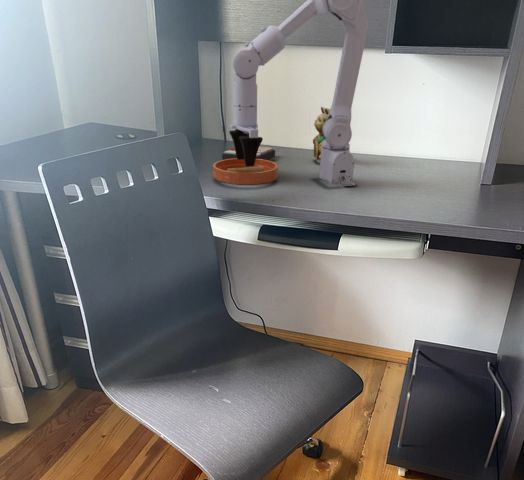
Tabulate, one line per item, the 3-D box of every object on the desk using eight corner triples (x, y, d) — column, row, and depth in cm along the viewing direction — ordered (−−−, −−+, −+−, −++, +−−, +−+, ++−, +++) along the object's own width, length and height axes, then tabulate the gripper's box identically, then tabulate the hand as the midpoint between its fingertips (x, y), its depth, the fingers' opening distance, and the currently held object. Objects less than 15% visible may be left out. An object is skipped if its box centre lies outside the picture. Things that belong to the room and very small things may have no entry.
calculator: (275, 147, 162) (257, 154, 149) (275, 161, 164) (257, 170, 151) (242, 143, 165) (221, 150, 153) (242, 158, 167) (221, 166, 155)
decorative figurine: (308, 158, 165) (311, 105, 157) (333, 157, 167) (337, 104, 159) (319, 165, 157) (323, 110, 149) (345, 164, 159) (350, 109, 151)
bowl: (286, 186, 138) (287, 170, 135) (223, 191, 133) (222, 175, 131) (265, 171, 151) (265, 156, 149) (207, 175, 146) (206, 159, 144)
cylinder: (261, 174, 144) (261, 165, 142) (264, 176, 142) (264, 167, 141) (226, 176, 141) (226, 167, 140) (229, 178, 139) (228, 169, 138)
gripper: (222, 101, 137) (223, 157, 144) (238, 110, 125) (238, 169, 133) (248, 101, 139) (248, 155, 146) (266, 109, 127) (265, 168, 135)
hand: (245, 162), depth 139 cm, fingers open, 7 cm apart
